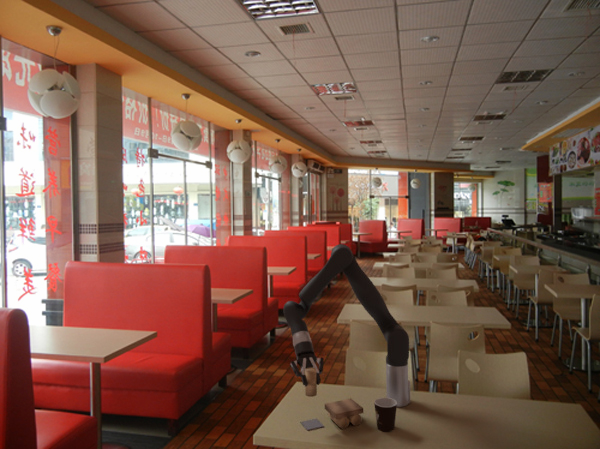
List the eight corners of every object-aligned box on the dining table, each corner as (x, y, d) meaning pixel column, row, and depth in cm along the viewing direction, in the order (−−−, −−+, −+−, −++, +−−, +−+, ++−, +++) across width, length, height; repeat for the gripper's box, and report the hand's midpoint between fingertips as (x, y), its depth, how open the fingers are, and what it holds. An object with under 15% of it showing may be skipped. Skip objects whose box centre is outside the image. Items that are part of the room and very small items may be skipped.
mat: (316, 419, 187) (316, 418, 187) (324, 426, 180) (323, 425, 180) (300, 422, 184) (300, 421, 184) (307, 430, 178) (307, 429, 178)
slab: (351, 413, 191) (351, 398, 191) (363, 424, 182) (363, 408, 182) (324, 419, 187) (324, 403, 186) (336, 430, 177) (335, 414, 177)
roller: (314, 391, 185) (313, 366, 184) (318, 395, 181) (318, 370, 180) (303, 393, 183) (303, 368, 183) (308, 397, 179) (307, 371, 179)
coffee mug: (397, 434, 173) (397, 407, 173) (374, 432, 175) (373, 406, 175) (397, 420, 185) (396, 395, 184) (375, 418, 186) (374, 393, 186)
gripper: (287, 342, 186) (296, 382, 175) (321, 338, 190) (332, 378, 179) (284, 351, 192) (293, 391, 181) (317, 347, 196) (327, 386, 184)
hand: (312, 384), depth 180 cm, fingers closed on roller, 4 cm apart
